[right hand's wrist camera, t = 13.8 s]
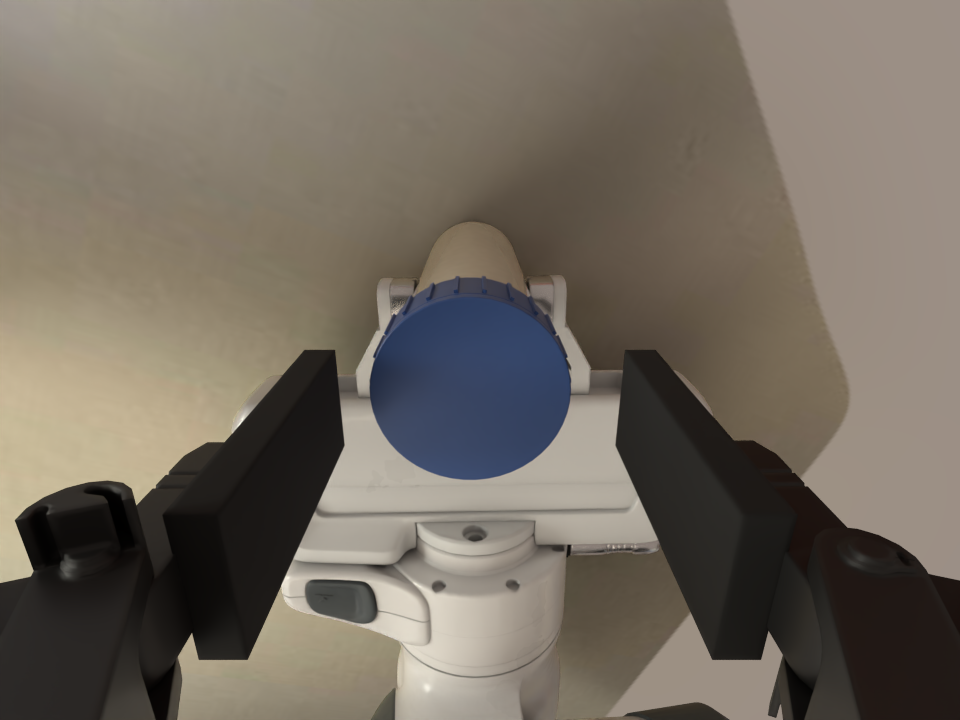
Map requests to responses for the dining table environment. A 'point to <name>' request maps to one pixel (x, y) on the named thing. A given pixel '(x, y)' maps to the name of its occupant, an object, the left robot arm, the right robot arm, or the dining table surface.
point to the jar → (472, 257)
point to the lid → (470, 379)
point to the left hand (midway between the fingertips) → (470, 278)
